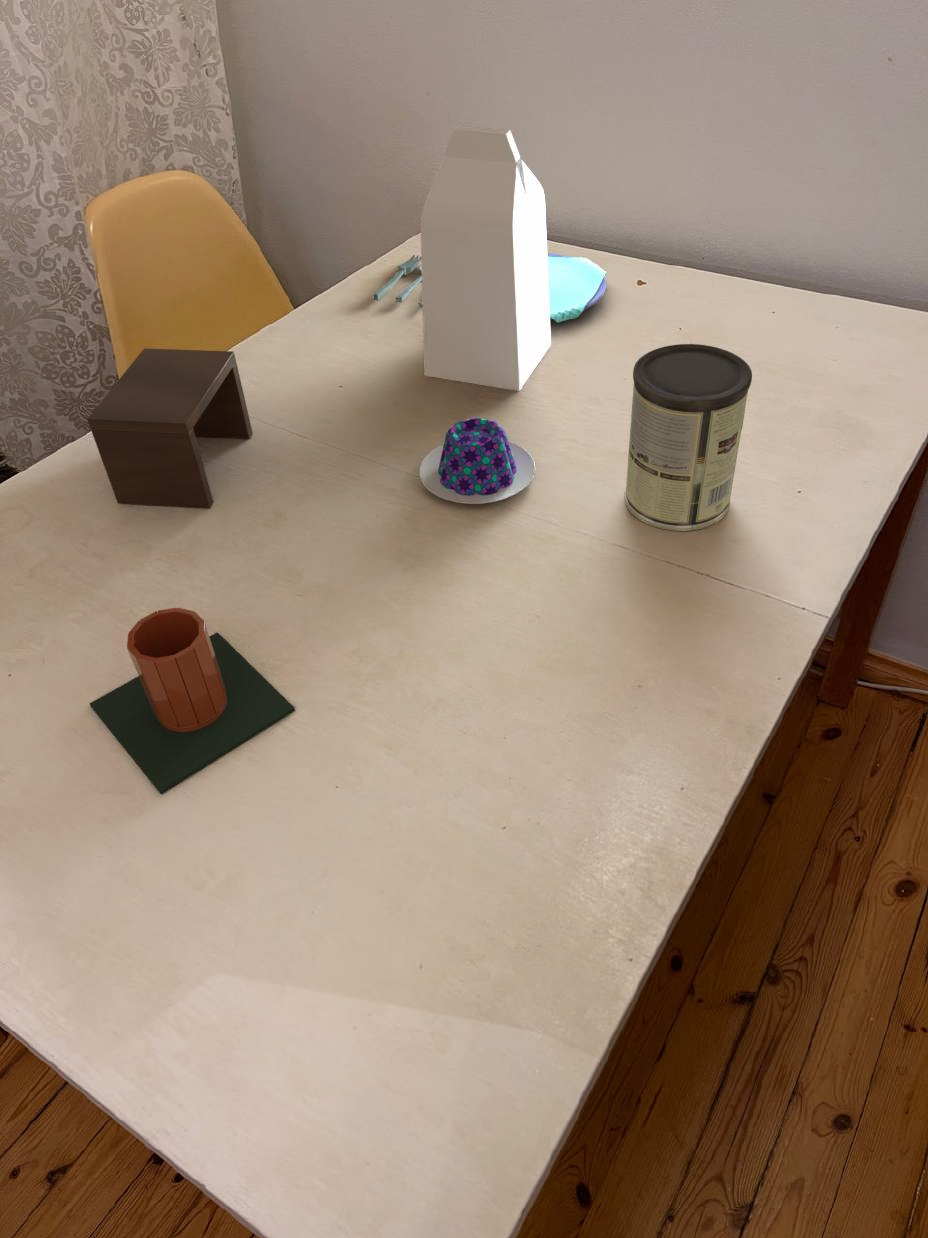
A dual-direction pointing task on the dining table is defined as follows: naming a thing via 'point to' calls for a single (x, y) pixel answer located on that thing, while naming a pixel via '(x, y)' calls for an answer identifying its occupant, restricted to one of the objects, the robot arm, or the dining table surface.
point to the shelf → (168, 425)
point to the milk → (484, 264)
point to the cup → (178, 669)
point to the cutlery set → (567, 277)
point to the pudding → (477, 464)
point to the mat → (189, 752)
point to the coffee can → (685, 435)
